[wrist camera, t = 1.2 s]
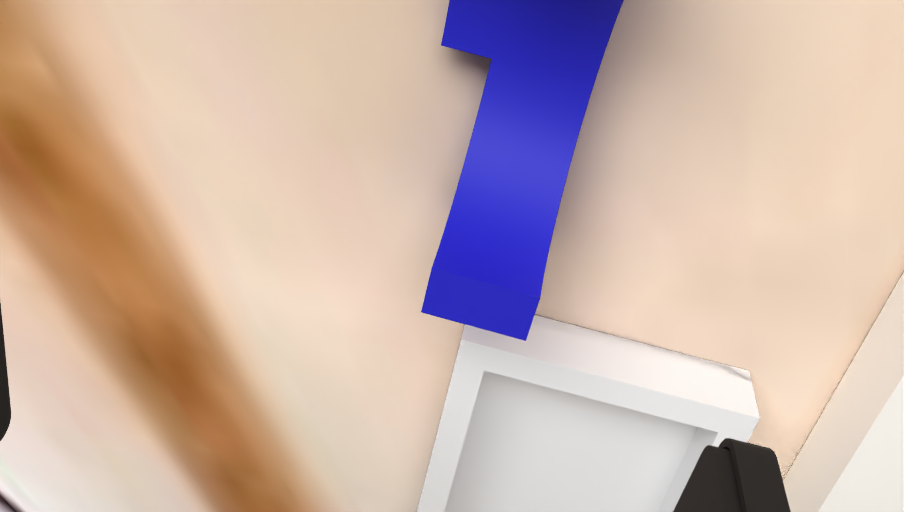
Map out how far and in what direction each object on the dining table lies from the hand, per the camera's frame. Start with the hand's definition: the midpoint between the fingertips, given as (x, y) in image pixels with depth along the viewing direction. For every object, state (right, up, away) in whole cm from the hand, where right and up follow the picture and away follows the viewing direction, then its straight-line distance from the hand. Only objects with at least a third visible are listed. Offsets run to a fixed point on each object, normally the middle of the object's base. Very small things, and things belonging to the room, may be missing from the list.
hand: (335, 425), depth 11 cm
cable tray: (+5, -8, +23) cm, 25 cm away
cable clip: (+4, +8, +15) cm, 17 cm away
